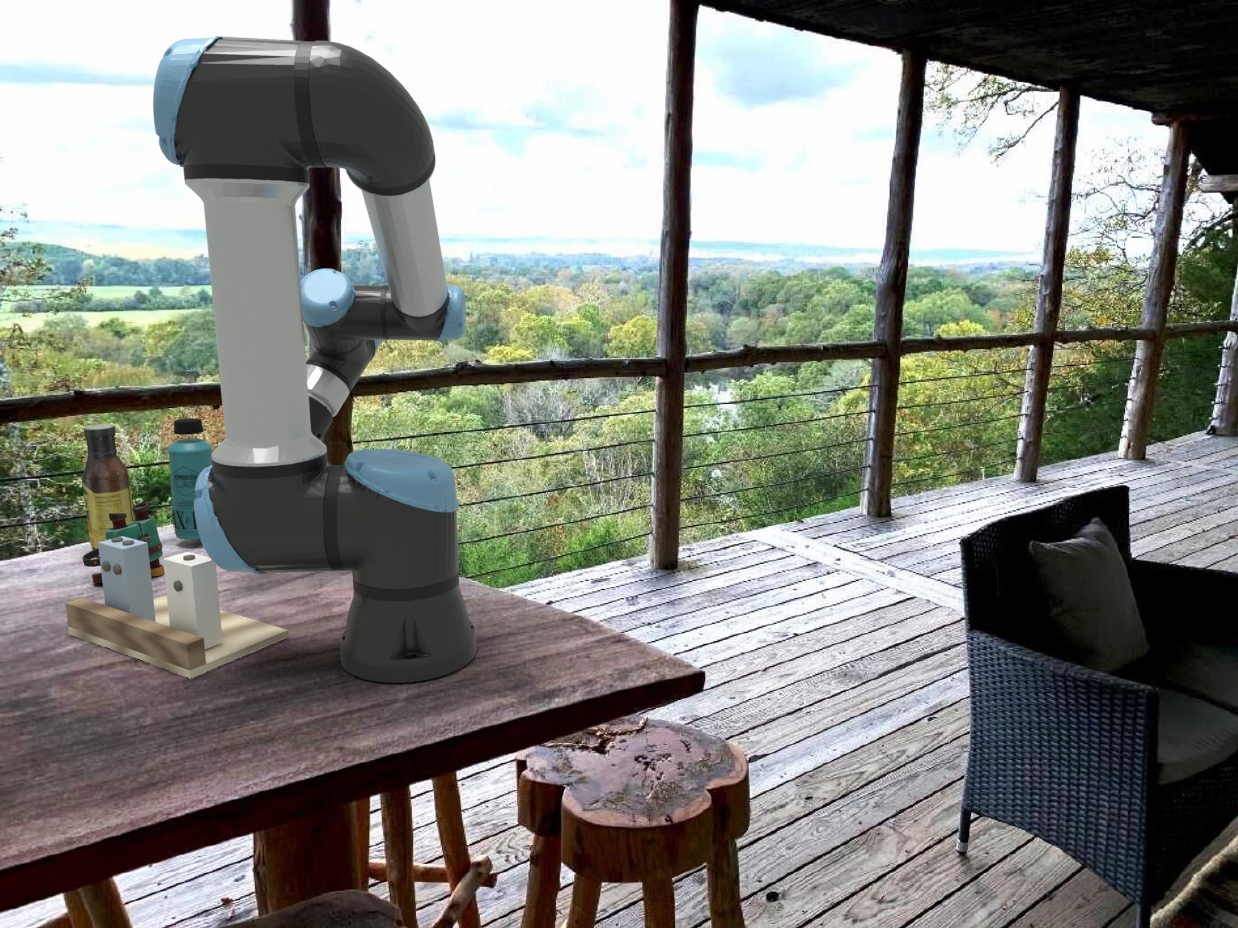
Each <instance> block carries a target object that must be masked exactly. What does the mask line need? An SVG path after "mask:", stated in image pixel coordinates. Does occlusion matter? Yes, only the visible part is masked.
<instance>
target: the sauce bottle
mask: <svg viewBox="0 0 1238 928" xmlns="http://www.w3.org/2000/svg"><path fill="white" fill-rule="evenodd" d="M83 433H84V434H83V436H84V437H85V440H86V446H87V453H86V454H87V458H86V461H85V466H84V470H83V474H82V478H81V482H82V483H81V484H82V491H83V498H84V500H83V501H84V505H85V513H86V514H85V515H86V521H87V522H86V523H87V529H88V537H89V544H90V546H91V549H92V551H93V550H95V549H98V548H99V547H98V542H101V541H105V540H106V530H108V529H111V528H113V523H112V521H110V518H109V514H110V513H126V514H127V518H125V520H126V525H127V524H129V525H130V522H131V521H133V520H136V518H135V513H134V512H133V510H132V507H133V506H134V505H133V504H134V503H133V498H132V496H133V495H132V488H131V483H130V479H129V470H128V468H127V466H126V464H125V463H124V461H123V460H121V458H120V457H119V456H118V454H117V453H118V450H117V445H116V437H115V436H116V427H115V425H114V424H112V423H96V424H89V425H85V426H84V428H83ZM97 558H100V557H99V556H97Z"/></svg>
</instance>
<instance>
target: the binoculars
mask: <svg viewBox="0 0 1238 928" xmlns="http://www.w3.org/2000/svg"><path fill="white" fill-rule="evenodd" d="M132 510H133V512H134V516H135V520H133V521H131V522H130V525H129V524H127V525H126V520H125V518H127V514H126V513H110V514H109V518H110V521H112V523H113V528H111V529H108V530H106V540H109V539H112V538H116V537H121V536H124V537H128V538H131V539H135V540H139V541H143V542H147V543H148V552H149V561H150V571H151V577H159V576H163V575H165V573H164V564H161V562H160V558H161V557H162V556H163V555H164V552H163V544H162V542H161V539H160V535H159V531H158V527H157V524H156V519H155V517H154V516H150V515H149V510H150V505H149V502H148V501H143V502H138V503H137V504H135V505H133V507H132ZM97 556H99V548H98V549H95V550H93V549H92V550H91V551H89V552H87V553H85V554H84V555H83V556H82V561H83V566H85V567H88V568H90V567H91V568H96V567H101V564H100V556H99V557H97ZM96 557H97V558H96ZM91 577H92V584H100V583H102V584H103V582H102V573H101V572H98V573H93V574H92V575H91Z"/></svg>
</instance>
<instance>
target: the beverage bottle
mask: <svg viewBox="0 0 1238 928" xmlns="http://www.w3.org/2000/svg"><path fill="white" fill-rule="evenodd" d="M201 433H204V428H203V421H202V419H201V418H194V417H192V418H191V417H188V418H181V419H179V418H178V419H176V420H174V422H173V434H174V435H179V436H180V435H182V436H183V435H187V436H188V435H196V434H197V435H198V434H201ZM212 452H213V446H212V445H211V444H210V442H208V441H206V440H204V439H202V438H185V439H178V440H175V441H173V442H172V444H170V445H169V446H168V448H167V453H168V463H169V474H170V475H169V477H168V478H169V483H170V488H171V489H170V494H169V495H170V499H171V505H172V507H171V510H172V512H171V513H172V521H173V522H172V523H173V530H174V534H175V537H176V538H177V539H180V540H185V541H186V540H187V541H188V540H192V541H194V540H201V539H200V536H199V532H198V529H197V524H196V519H195V511H194V501H195V500H196V494H195V486H196V482H197V479H198V476H199V474H200V473H201V472H202V471H203V470H204V469H205V468H207V467H209V466H211V465H212V456H211V455H212Z"/></svg>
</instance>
